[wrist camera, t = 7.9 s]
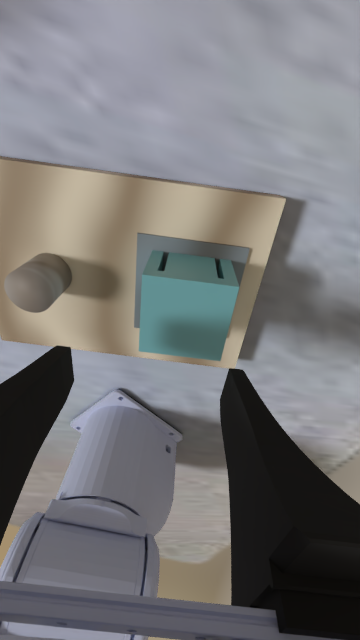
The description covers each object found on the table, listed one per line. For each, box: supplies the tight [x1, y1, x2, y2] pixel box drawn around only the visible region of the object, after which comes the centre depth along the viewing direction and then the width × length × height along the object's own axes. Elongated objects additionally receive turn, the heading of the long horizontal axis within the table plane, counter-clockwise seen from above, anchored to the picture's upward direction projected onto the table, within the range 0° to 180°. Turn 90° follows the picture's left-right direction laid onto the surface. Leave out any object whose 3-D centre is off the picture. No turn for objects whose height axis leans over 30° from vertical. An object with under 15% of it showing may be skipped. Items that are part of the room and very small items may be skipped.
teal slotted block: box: [139, 250, 239, 361], centre depth 17 cm, size 5×5×4 cm
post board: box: [0, 156, 286, 369], centre depth 18 cm, size 19×13×4 cm
